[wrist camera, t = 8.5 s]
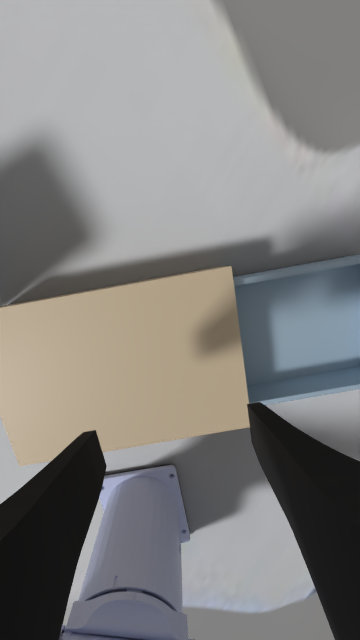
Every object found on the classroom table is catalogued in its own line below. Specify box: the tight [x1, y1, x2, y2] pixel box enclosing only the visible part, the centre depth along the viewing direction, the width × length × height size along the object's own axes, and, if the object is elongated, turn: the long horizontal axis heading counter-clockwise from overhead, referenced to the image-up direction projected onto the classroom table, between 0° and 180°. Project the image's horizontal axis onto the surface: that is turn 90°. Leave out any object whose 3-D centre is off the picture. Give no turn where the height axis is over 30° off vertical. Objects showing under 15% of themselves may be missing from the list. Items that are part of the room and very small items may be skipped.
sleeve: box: [0, 266, 250, 466], centre depth 19 cm, size 12×18×4 cm, turn 100°
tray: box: [233, 254, 360, 405], centre depth 19 cm, size 10×17×3 cm, turn 100°
